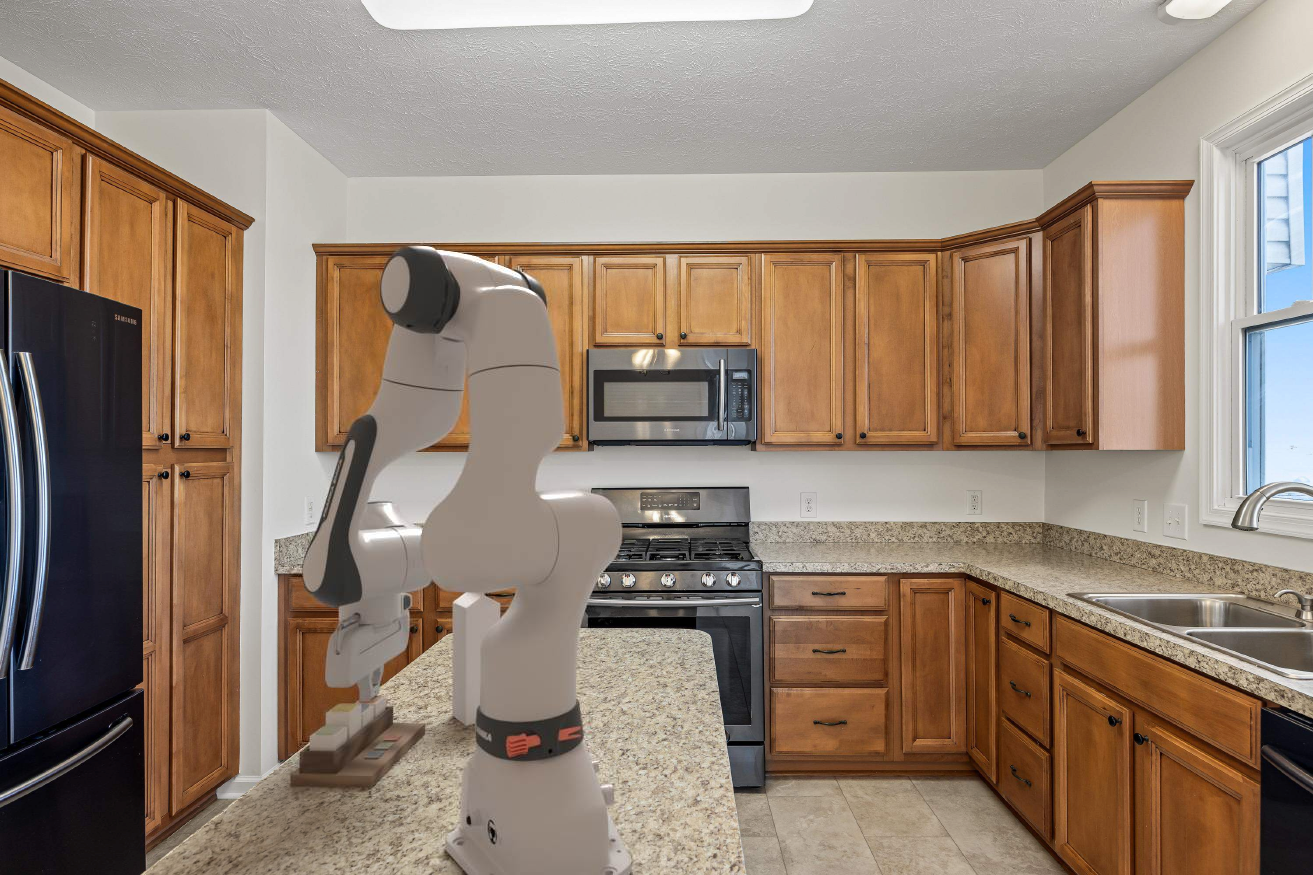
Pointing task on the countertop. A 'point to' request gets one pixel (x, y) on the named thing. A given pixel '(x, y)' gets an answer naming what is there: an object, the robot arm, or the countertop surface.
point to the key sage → (328, 738)
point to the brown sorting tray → (359, 755)
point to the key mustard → (345, 718)
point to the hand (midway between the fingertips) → (369, 697)
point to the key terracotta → (375, 704)
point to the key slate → (366, 715)
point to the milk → (469, 651)
